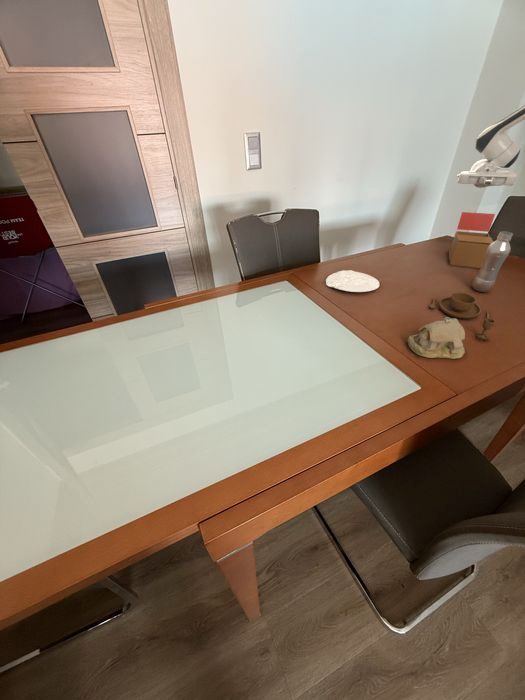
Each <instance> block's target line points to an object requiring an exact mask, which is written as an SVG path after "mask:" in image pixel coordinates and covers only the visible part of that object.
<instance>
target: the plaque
mask: <svg viewBox="0 0 525 700" xmlns="http://www.w3.org/2000/svg"><path fill="white" fill-rule="evenodd" d="M325 285H326V286H327V287H330V288H334V289H336V290H340V291H345V292H351V293H366V292H371V291H375V290H377V289H378V288H379V287H380V281H379V280H378V279H377V278H376V277H374V276H372V275H370V274H367V273H364V272H361V271H355V270H351V269H350V270H339V271H336V272H334V273H331V274H330V275H328V276H327V277H326V279H325Z"/></svg>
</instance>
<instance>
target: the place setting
mask: <svg viewBox="0 0 525 700" xmlns="http://www.w3.org/2000/svg"><path fill="white" fill-rule="evenodd" d="M435 302H436V298H435V297H434V298H433V299H432V303H431V304H429V305H428V307H429V308H430V309H435V308H436V304H435ZM476 302H477V299H476V297H475V296H473V295H471V294H470V293H466V292H453V293H452V294H451V295H450V296H448V297H444V298H441V299H440V300H439V301H438V306H439V310H440V311H441V312H443V313H444V314H445V315H448V317H452V318H456V319H461V320H463V319H464V320H470V319H475V318H477V317H478V316H480V314H481V312H482V308H481V306H480V305H479V304H477V303H476ZM495 323H496V320H495V319H493V318H491V317H490V312H489V310H487V311H486V318H484V321H483V322H482V325H481V326H482V329H483V330H482V331H481V333H476V334H475V337H476V339H478V340H480V341H486V340H488V336H486V334H487V331H488V330H492V328H493V327H494V326H495Z"/></svg>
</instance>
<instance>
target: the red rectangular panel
mask: <svg viewBox="0 0 525 700" xmlns="http://www.w3.org/2000/svg"><path fill="white" fill-rule="evenodd" d="M495 215H496V214H495V213H485V212H483V213H482V212H470V211H469V212H468V211H462V212H461V214H460V217H459V222H458V225H457V228H456V229H457V230H458V231H471V232H483V233H490V230H491V227H492V224H493V221H494V218H495Z"/></svg>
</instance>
